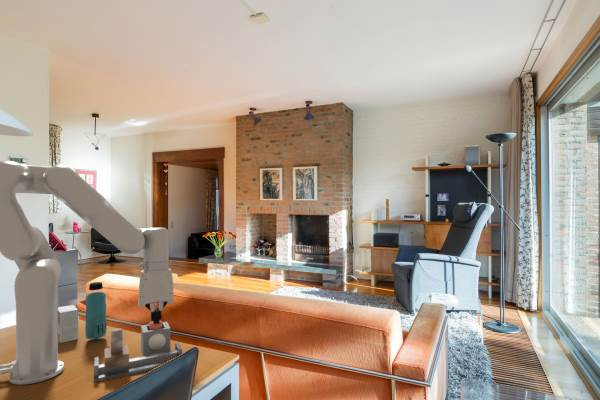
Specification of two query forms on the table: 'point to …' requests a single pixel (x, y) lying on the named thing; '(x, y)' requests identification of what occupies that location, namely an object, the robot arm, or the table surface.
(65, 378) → the table surface
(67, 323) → the small box
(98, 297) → the beverage bottle
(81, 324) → the table surface
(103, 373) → the rail track
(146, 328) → the gauge cabinet
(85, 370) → the table surface
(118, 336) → the carriage
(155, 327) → the gauge button
